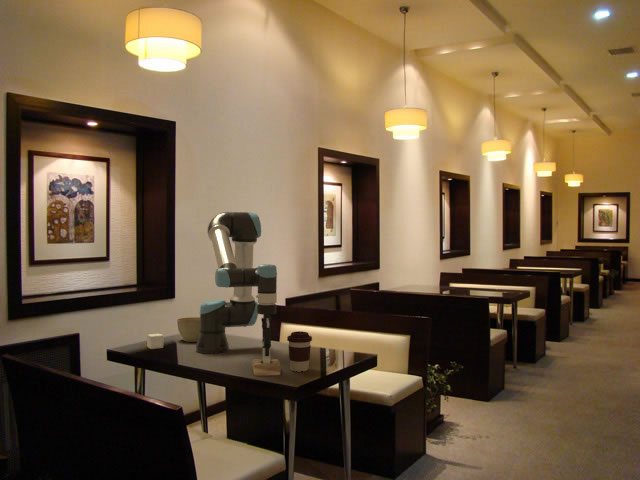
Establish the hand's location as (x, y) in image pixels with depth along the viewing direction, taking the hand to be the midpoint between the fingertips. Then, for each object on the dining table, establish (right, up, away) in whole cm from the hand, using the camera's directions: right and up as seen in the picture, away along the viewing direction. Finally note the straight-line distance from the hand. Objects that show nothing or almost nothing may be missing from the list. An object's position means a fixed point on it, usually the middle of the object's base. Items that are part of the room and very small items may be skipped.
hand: (266, 362), depth 221 cm
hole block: (0, -4, 0) cm, 4 cm away
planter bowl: (-43, -3, +63) cm, 77 cm away
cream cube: (-57, -3, +46) cm, 73 cm away
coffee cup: (+13, -4, +4) cm, 14 cm away
